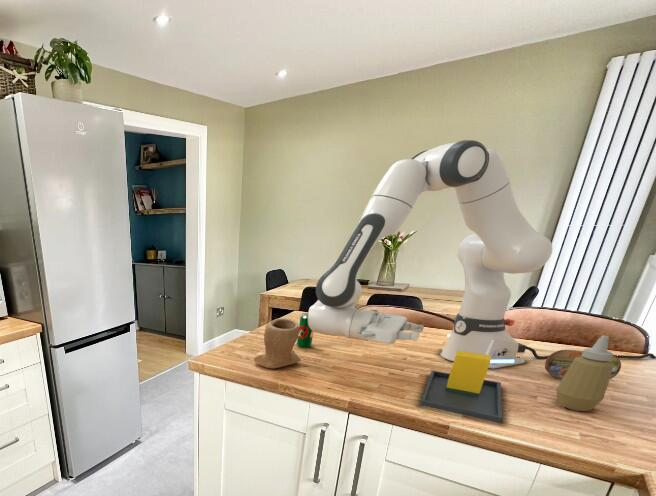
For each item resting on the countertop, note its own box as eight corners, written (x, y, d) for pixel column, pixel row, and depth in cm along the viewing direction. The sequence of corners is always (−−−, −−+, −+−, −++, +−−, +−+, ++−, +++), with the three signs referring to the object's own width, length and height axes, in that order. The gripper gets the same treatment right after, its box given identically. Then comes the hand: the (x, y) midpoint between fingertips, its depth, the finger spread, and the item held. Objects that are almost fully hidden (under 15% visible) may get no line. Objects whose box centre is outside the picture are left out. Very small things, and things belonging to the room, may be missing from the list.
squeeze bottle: (541, 400, 101) (570, 332, 94) (570, 398, 102) (601, 330, 94) (576, 415, 94) (609, 342, 87) (607, 413, 94) (643, 340, 87)
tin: (543, 377, 115) (554, 349, 111) (538, 373, 117) (549, 346, 114) (614, 384, 109) (628, 355, 106) (607, 380, 112) (620, 352, 108)
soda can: (312, 348, 143) (317, 315, 139) (297, 348, 144) (302, 315, 139) (309, 344, 148) (314, 312, 143) (295, 343, 149) (299, 312, 144)
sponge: (446, 384, 110) (457, 350, 106) (478, 390, 106) (490, 355, 102) (445, 390, 107) (456, 355, 103) (478, 396, 103) (490, 360, 99)
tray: (430, 376, 117) (431, 370, 117) (498, 388, 108) (500, 382, 108) (419, 407, 99) (420, 400, 99) (500, 425, 90) (502, 418, 89)
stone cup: (273, 374, 121) (278, 327, 115) (248, 363, 131) (252, 318, 125) (310, 366, 127) (317, 320, 121) (283, 355, 137) (288, 312, 131)
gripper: (358, 321, 107) (418, 329, 99) (374, 308, 122) (428, 314, 114) (354, 344, 110) (412, 353, 102) (370, 328, 124) (422, 335, 116)
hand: (420, 332), depth 108 cm, fingers open, 8 cm apart
